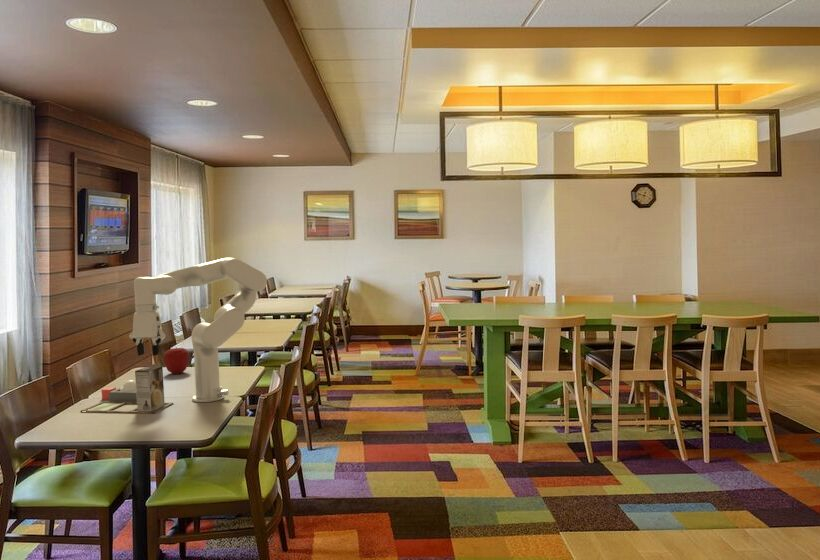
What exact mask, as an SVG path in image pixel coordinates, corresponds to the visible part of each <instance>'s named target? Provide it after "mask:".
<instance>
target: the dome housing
mask: <svg viewBox="0 0 820 560" xmlns="http://www.w3.org/2000/svg"><path fill="white" fill-rule="evenodd" d="M120 388H121V387H119V388H116V390H113V391H111V392H109V399H108V402H137V393H136V391H134V392H129V391H120Z"/></svg>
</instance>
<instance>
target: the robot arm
mask: <svg viewBox="0 0 820 560" xmlns="http://www.w3.org/2000/svg"><path fill="white" fill-rule="evenodd" d="M226 279H232V280H233V281H236V282H237V283H238V289H237V292H236V293H235V294H234V296H233V297H231V298H230V299H229V300H228V301H226V302H225V303H224V304H223V305H222V306H220V307H219V308H218V309H217V310H216V312H215V313H214V315H213V321H212V323H210V322H203V321H202V322H200V323H197V324H196V325H195V326H194V327H193V329H192V332H191V343H192V348H193V358H194V361H193V363H194V380H195V381H194V383H195V384H194V385H195V395H193V396H192V397H191V400H192V401H193V402H195V403H210V402H218V401H220V400H223V399H224V398H225V396H229V394H230V392H229V389H223V386H221V385H220V384H221V383H220V366H219V365H220V363H219V361H220V360H219V359H220V357H219V349H218V348H219V347H221V346H222V345H223V344H224V343H225V342H227V341H229V340H230V338H231V337H233V336H234V335H235V334H236V333H237V332H238V331H239V330H241V328H242V327H243V326H244V323H245V318H246V317H245V314H247V312H248V311H250V310H251V309H252V307H253V306H254V304H255V303H256V300H257V295H258V293H257V292H261V291H263V290H264V289H265V288H266V287H267V285H268V278H267V276H266V274H265V273H264V272H262V271H261V270H259V269H257V268H255V267H253V266H251V265H250V264H248V263H246V262H244V261H242V260H240V259H239V258H237V257H236V258H235V257H224V258H220V259H216V260H215V259H214V260H212V261H208V262H203V263H200V264H196V265H192V266H188V267H186V268H181V269H177V270H173V271H169V272H163V273H162V274H157V275H155V276H154V277H151V276H139V277H136V278H134V280H133V288H134V306H135V307H134V308H135V312H134V313H133V318H132V319H133V320H132V330H131V332H130V333H129V335H128V337H129V339H130V340H132V341H133V343H134V344H135V346H136V349H137V356H143V355H145V346H144V343H143V342H144V339H151V341H152V346H151V348H152V350H151V351H152V356H153V357H154V356H157V355H159V353H160V346H159V345H160V344H161V343H162V341H163V340H164V339H165V338H166V337H167V334H165V332H164V331H163V327H162V326H163V325H162V320H161V315H160V312H159V311H157V310H159V309H160V305H157V300H156V299H157V298H156V297H157V296H156V295H161V296H162V295H165V296H167V295H168V296H169V295H171V294H173V293H175V292H176V291H177V289H182V288H187V287H200V286H201V287H202V286H205V285H206V286H207V285H209V284H211V283H216V282H220V281H222V280H226Z"/></svg>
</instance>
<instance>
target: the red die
mask: <svg viewBox="0 0 820 560" xmlns="http://www.w3.org/2000/svg"><path fill="white" fill-rule="evenodd" d="M116 389H117V387H111V386H110V387H105V388H102V389H101V400H109V392H111V391H113V390H116Z"/></svg>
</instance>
